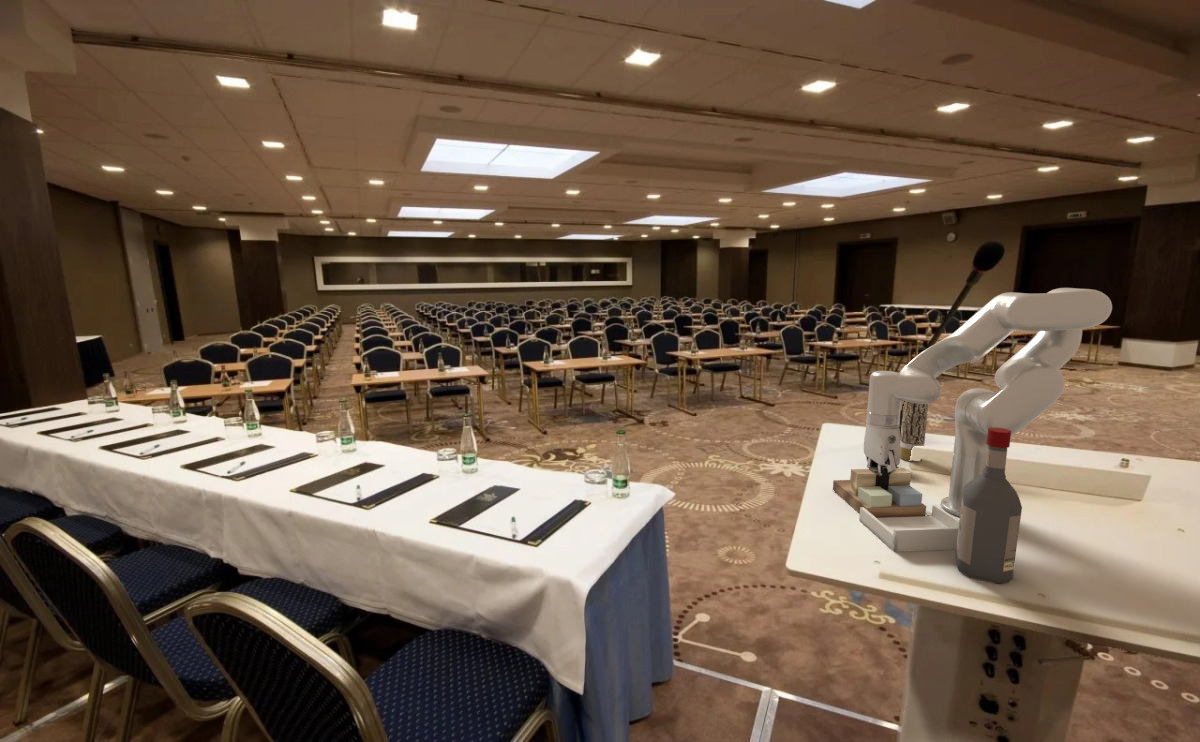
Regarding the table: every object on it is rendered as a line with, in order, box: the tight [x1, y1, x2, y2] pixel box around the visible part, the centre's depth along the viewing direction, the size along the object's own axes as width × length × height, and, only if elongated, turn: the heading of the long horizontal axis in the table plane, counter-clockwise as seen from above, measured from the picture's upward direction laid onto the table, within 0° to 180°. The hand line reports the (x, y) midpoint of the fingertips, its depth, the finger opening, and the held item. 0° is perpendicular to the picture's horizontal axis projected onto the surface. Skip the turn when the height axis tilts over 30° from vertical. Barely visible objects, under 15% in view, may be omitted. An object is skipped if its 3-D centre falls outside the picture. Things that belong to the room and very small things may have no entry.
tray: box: [859, 504, 960, 553], centre depth 125 cm, size 15×19×5 cm
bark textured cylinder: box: [900, 401, 929, 462], centre depth 172 cm, size 7×7×25 cm
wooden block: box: [849, 467, 912, 496], centre depth 141 cm, size 4×14×7 cm, turn 91°
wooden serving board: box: [832, 479, 927, 518], centre depth 142 cm, size 18×15×3 cm
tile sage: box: [858, 486, 892, 508], centre depth 136 cm, size 6×6×3 cm
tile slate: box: [888, 485, 923, 506], centre depth 136 cm, size 6×6×3 cm
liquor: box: [955, 427, 1023, 585], centre depth 107 cm, size 9×9×30 cm
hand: (877, 485), depth 141 cm, fingers closed on wooden block, 3 cm apart
